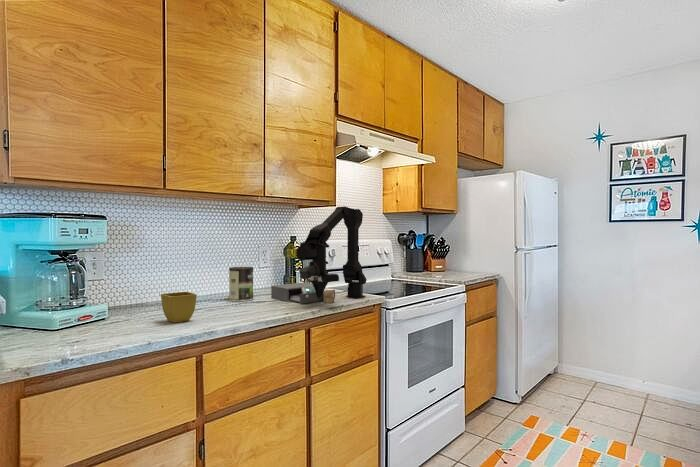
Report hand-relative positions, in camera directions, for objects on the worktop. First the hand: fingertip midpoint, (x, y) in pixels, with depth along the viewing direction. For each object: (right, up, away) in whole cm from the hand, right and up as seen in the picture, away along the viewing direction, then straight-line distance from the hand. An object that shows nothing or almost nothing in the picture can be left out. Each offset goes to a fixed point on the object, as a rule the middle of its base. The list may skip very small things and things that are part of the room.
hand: (319, 297), depth 161 cm
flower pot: (-44, -3, -29) cm, 53 cm away
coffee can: (-35, -3, +13) cm, 37 cm away
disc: (-6, 0, +12) cm, 13 cm away
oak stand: (+4, -3, +6) cm, 8 cm away
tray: (-5, -3, +12) cm, 13 cm away
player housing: (-11, -3, +18) cm, 22 cm away
